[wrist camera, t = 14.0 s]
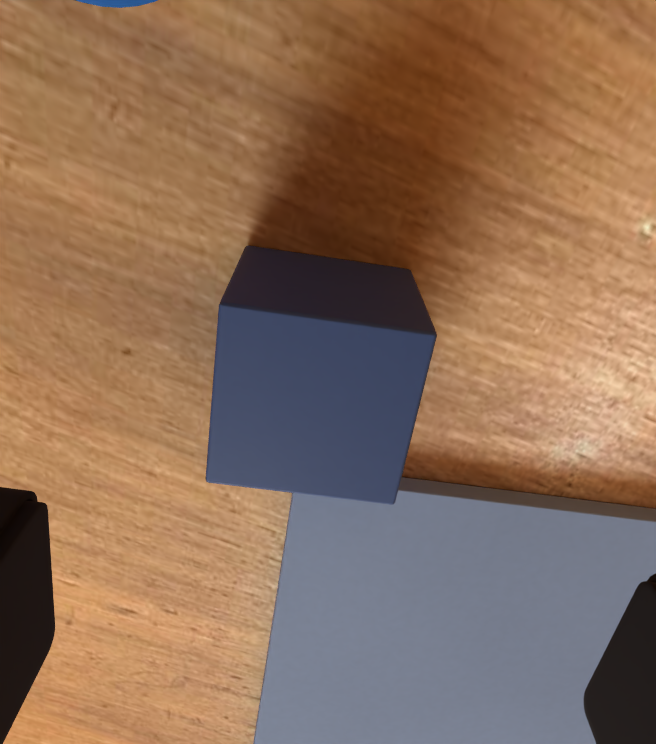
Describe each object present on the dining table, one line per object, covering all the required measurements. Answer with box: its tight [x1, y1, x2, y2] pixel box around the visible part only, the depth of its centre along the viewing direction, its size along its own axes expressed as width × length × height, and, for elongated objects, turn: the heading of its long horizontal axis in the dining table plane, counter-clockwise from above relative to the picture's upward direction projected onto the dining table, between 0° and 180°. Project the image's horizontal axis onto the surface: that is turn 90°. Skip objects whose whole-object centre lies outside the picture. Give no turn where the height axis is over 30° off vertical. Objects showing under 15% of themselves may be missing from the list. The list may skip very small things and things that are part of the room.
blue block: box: [206, 246, 437, 505], centre depth 17 cm, size 5×5×5 cm
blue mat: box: [254, 477, 656, 744], centre depth 26 cm, size 20×20×1 cm
